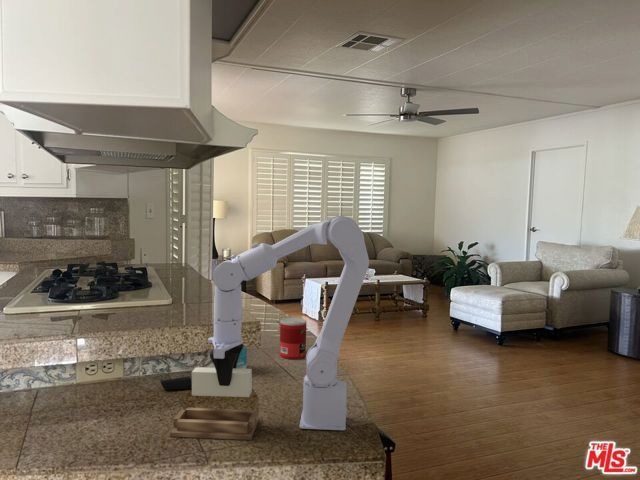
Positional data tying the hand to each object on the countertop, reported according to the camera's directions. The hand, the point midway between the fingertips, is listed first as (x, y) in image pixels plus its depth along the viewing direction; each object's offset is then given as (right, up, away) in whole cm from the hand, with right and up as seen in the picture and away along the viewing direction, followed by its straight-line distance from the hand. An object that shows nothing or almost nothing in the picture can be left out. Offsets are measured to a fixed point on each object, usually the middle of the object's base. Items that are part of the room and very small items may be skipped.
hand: (226, 382), depth 106 cm
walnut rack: (-2, -9, -3) cm, 9 cm away
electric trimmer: (-12, -7, +20) cm, 25 cm away
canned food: (+11, -6, +48) cm, 49 cm away
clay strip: (-1, -3, 0) cm, 3 cm away
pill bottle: (-4, -6, +32) cm, 33 cm away
